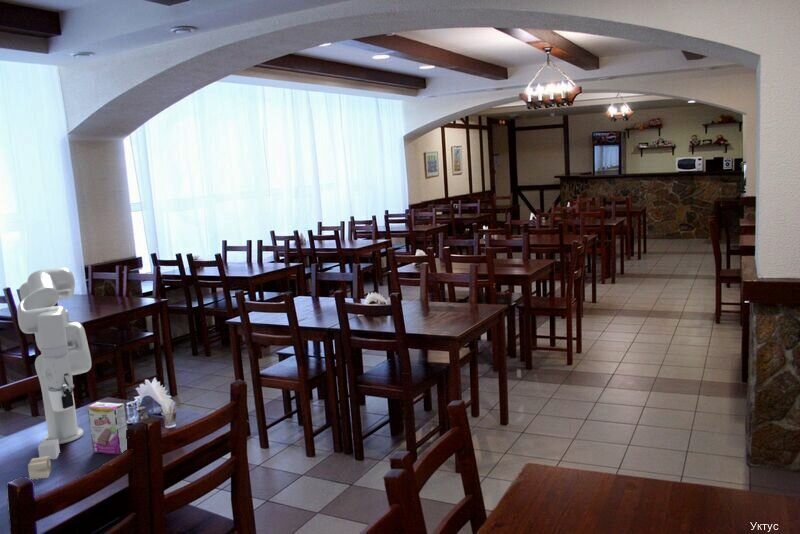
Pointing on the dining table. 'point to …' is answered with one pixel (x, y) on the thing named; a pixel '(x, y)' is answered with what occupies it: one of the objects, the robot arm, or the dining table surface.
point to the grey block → (49, 448)
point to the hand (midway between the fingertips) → (62, 404)
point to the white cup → (57, 399)
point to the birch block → (39, 467)
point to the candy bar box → (108, 427)
